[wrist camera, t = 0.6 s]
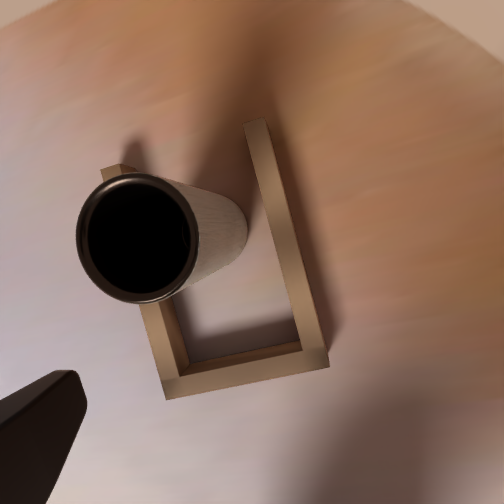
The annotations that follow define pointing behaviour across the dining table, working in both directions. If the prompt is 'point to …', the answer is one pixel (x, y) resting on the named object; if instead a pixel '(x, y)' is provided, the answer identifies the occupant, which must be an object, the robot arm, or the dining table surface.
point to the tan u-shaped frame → (298, 288)
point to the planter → (155, 236)
